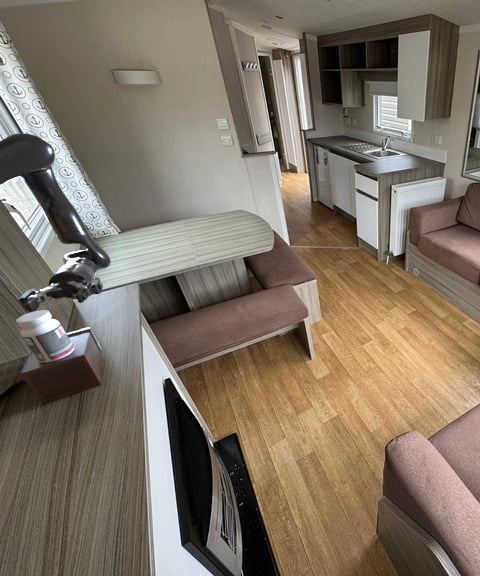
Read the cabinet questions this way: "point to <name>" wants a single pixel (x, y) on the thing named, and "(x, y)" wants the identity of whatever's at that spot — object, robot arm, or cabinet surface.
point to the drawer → (83, 331)
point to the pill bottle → (44, 336)
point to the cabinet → (66, 371)
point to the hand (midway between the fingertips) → (55, 304)
